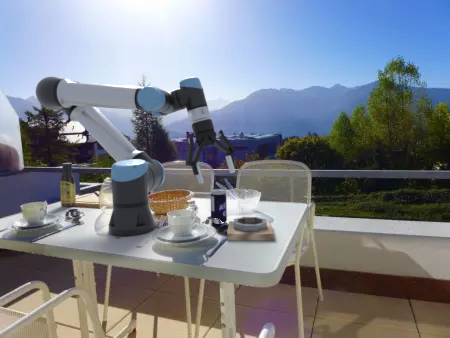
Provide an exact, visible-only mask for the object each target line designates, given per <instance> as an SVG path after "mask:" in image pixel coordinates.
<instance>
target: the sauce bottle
mask: <svg viewBox="0 0 450 338" xmlns="http://www.w3.org/2000/svg"><path fill="white" fill-rule="evenodd" d="M61 167H62V174H61V178H60V182H59V186H60V187H59V189H60V190H59V192H60V193H59V194H60V206H61V207H64V208H65V207H67V208H68V207H73V206H76V203H77V201H76V195H77V194H76V183H75V182H76V179H75V175H74V174H73V169H72V167H73V162H63V163H62V164H61Z"/></svg>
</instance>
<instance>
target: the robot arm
mask: <svg viewBox="0 0 450 338" xmlns="http://www.w3.org/2000/svg"><path fill="white" fill-rule="evenodd" d="M178 85H179V87H177V88H175V89H173V90H169V91H165V90H163V89H161V88H159V87H158V86H157V87H156V86H152V85H146V86H135V85H119V84H118V85H117V84H101V83H85V82H79V81H77V80H76V81H75V80H74V81H73V80H70V79H68V78H61V77H58V76H57V77H56V76H47V77H44V78H42V79H41V80H40V81H39V82H38V83H37V84H36V87H35V96H36V99H37V100H38V102H39V103H40V104H41V105H42V106H43V107H45V108H47V109H49V110H52V111H59V112H60V111H61V112H63V113H64V114H65V115H66V116H67V117H68V118H69V119H70V120H71V121H72V122H75V123H76V122H78V123H79V124H80V125H81V126H82V127H83V128H84V129H85V130H86V131H87V132H88V133H89V135H90V136H91V137H92V138H93V139H94V140H95V141H97V143H99V145H100V146H101V147H102V148H103V149H104V150H105V151H106V152H107V153H108V154H109V156H110V157H111V158H113V159H114V161H115V162H114V163H113V164H112V165H111V167H110V169H111V172H110V179H111V192H112V193H111V195H112V211H111V215H110V219H109V222H108V233H109V234H111V235H114V236H121V237H123V236H136V235H137V236H138V235H143V234H146V233H149V232H151V231H153V230H155V228H156V227H155V226H156V223H155V222H156V221H155V218H154V215H153V213H152V211H151V208H150V205H149V203H150V200H149V193H150V192H154V191H155V190H158V189H159V188H160V187H161V186H162V185H163V183H164V182H165V180H166V170H165V167H164V166H163V164H162V163H161V162H159V160H156V159H152V158H151V157H150V156H149V155H148V154H147V153H146V151H144V150H138V149H137V148H136V147H135V146H134V145H133V144H132V143H131V142H130V141H129V140H128V139H127V138H126V136H125V135H123V133H122V132H121V131H120V130H119V129H118V128H117V127H116V126H115V125H114V124H113V122H111V121H110V120H109V119H108V118H107V117H106V116H105V114H104V113H103V112H102V111H101V110H100V109H98V108H105V109H106V108H107V109H122V110H133V111H134V110H135V111H146V112H152V114H154V115H155V117H163V116H168V115H169V114H170V115H171V114H173V113H176V112H179V111H182V110H185V109H186V112H187V114H188V118H189V121H190V123H191V128H192V132H193V134H194V137H192V136H191V137H189V138H187V150H186V157H185V167H190V168H191V169H192V173H193V175H194V176H196V179H197V181H198V185H201V184H204V183H205V181H204V178H203V175H202V171H201V167H200V165H199V164H198V165H197V163H198V161H199V158H200V156H201V154H202V151H203V149H204V148H206V147H210V146H215V148H217V149H219V151H221V152H222V153H224V154H225V155H226V156H225V160H226V161H225V162H226V165H227V167H228V171H229V174H234V173H236V170H235V166H234V163H235V160H234V157H233V155H234V153H235V152H236V151H237V150H236V148H235V147H234V145H233V144H232V143H231V142H230V141H229V140H228V138H227V136H225V134H224V132H223V130H222V129H220V130H217V131H215V127H214V124H213V120H212V119H211V113H210V110H209V106H208V102H207V100H206V99H207V98H206V95H205V91H204V88H203V86H202V83H201V80H200V78H199V77H198V76H197V77H196V76H190V77H189V76H188V77H186V78H184V79H182V80H180V81H179V84H178ZM217 138H218V139H219V140H218V139H217ZM195 143H197V144H196V148H195ZM194 148H195V152H194Z"/></svg>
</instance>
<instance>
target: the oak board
mask: <svg viewBox="0 0 450 338" xmlns="http://www.w3.org/2000/svg"><path fill="white" fill-rule="evenodd" d="M266 222H267V229H265V230H262V231H259V232H242V231H238V230H235V229H234V220H232V221H230V220H229V222H228V227H227V232H226V237H227V238H226V241H275V232H274V229H273V226H272V222H271V220H270V221H269V220H266Z"/></svg>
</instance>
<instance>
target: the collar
mask: <svg viewBox="0 0 450 338" xmlns="http://www.w3.org/2000/svg"><path fill="white" fill-rule="evenodd" d="M233 221H234V229H235V230H238V231H242V232H259V231H262V230H265V229H267V222H266V221H267V219H266V218H262V217H258V216H243V217H242V216H241V217H238V218H235V219H233Z"/></svg>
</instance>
